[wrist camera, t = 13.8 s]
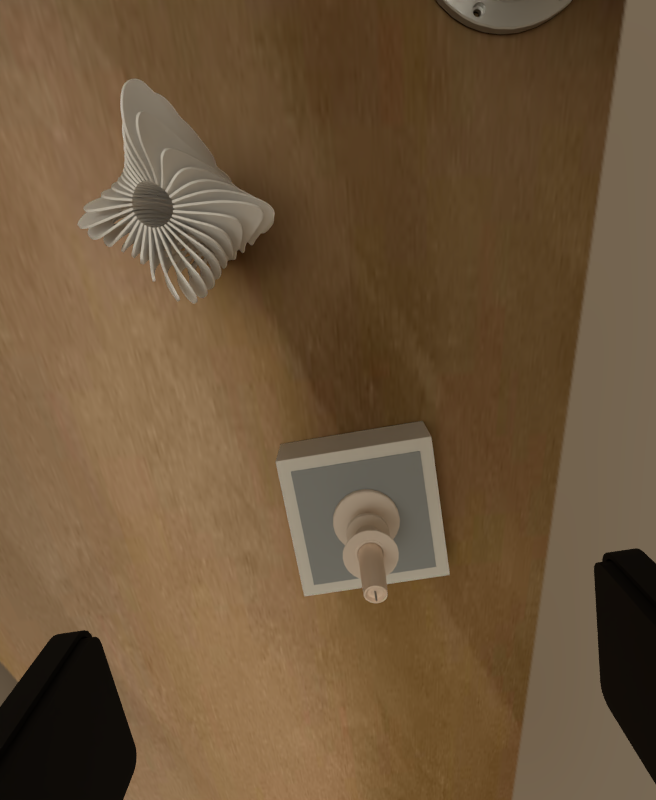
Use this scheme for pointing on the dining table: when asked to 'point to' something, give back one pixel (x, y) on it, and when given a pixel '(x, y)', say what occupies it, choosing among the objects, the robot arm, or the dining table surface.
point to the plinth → (355, 470)
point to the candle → (368, 539)
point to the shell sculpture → (173, 197)
